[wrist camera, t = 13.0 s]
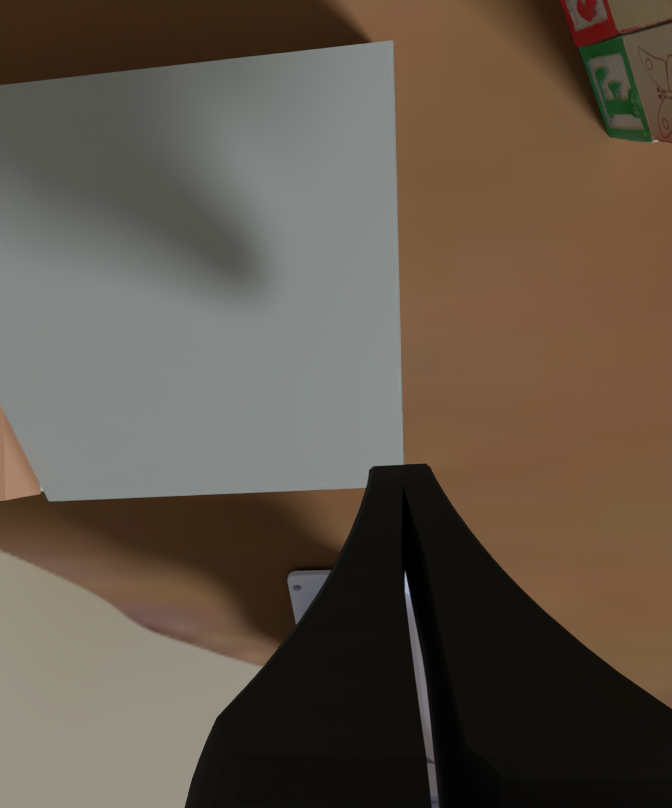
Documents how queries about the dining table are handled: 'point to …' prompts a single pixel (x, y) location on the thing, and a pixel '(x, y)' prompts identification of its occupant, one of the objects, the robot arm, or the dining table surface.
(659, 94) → the printed cardboard box
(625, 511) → the dining table surface
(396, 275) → the board
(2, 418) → the terracotta tile
